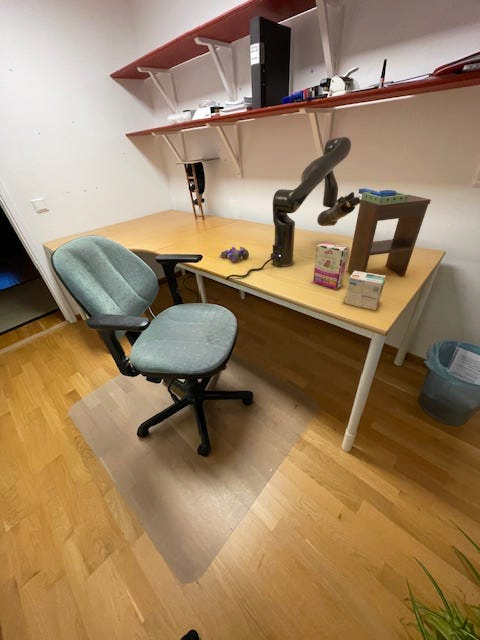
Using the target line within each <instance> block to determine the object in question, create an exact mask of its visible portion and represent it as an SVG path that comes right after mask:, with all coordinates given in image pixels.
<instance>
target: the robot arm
mask: <svg viewBox="0 0 480 640" xmlns="http://www.w3.org/2000/svg"><path fill="white" fill-rule="evenodd" d="M351 149H352V140H351V139H350V138H349V137H347V136H340V137H333V138H329V139H328V140H327V141H326V142H325V145H324V149H323V155H321V156H320V157H317V158H316V159H314V160H313V161H311V162H310V163H309V164H308V165H307V166H306V167H305V168H304V170H303V171H302V172H301V175H300V184H299V185H298V186H297V187H295V188H294V189H283V188H281V189H280V188H279V189H277V190H276V191H275V192H274V195H273V198H272V222H273V225H274V244H272V252H271V253H270V258H269V259H268V260H266V261H265V262H264V263H263V264H262V265H261V266H260V267H259V268H257V267H256V268H250V269H249V270H248V271H247V273H246V274H229V275H228V276H226V277H225V280H226V281H227V280H228V279H230V278H232V277H236V278H246V277H247V276H249V275H250V273H251V272H252V271H261V270H263V269H264V268H265V266H266V265H267V264H268V263H270V262H271V261H272V264H273V265H275V266H277V267H278V268H282V267H289V266H292V265H293V264H294V248H295V234H296V233H295V232H296V231H295V229H296V222H295V220H293V218H291V216H289V215H288V214H294V213H296V212H297V211H298V210H299V208H300V207H301V206H302V205H303V203H304V202H305V201H306V199H307V198H308V197H309V195H311V194H312V193H313V191H314V190H315V189H316V188H317V186H319V185H320V183H322V181H323V180H324V182H323V183H324V184H323V186H324V187H323V197H322V206H323V207H324V208H328V209H325V210H323V211H321V212H320V213H319V214H318V216H317V219H316V222H317V225H319V226H321V227H332V226H335V225H336V224H337V223H338V221H339V220H341V219H342V218H345V217H346V216H347V215H349V214H351V213H353V211H355V209H356V207H357V206H360V204H359V202H360V199H361V198H362V194H358V195H355V192H354V191H352V192H350V193H348V194H347V195H345V196H340V197H339V198H338V196H339V185H338V182H337V179H336V177H335V173H334V169H335V168H336V167H337V166H338V165H340V163H342V162H343V161H344V160H345V159H347V158H348V156H349V154H350V152H351Z"/></svg>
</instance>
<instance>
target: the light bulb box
mask: <svg viewBox="0 0 480 640" xmlns="http://www.w3.org/2000/svg"><path fill="white" fill-rule="evenodd" d="M386 277H387V276H386V275H383V274H377V273H371V272H366V273H365V272H359V271H354V272H353V273H352V275H351V274H350V276H349V278H348V283H347V289H346V293H345V299H344V304H347V305H351V306H356V307H359V308H363V309H368V310H371V311H376V309H377V307H378V305H379V304H380V300H381V297H382V293H383V289H384V286H385V281H386Z"/></svg>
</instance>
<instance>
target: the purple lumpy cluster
mask: <svg viewBox="0 0 480 640" xmlns="http://www.w3.org/2000/svg"><path fill="white" fill-rule="evenodd" d="M219 257H220V258H222V259H224V260H225V259H227V260H230V262H231V263H232V264H236V263H239V261H242V260H245V259H248V258H249V257H250V253H249V250H248V249H246V247H243V246H239V249H237V248H236V247H234V246H231V248H230V249H225V250H224V251H222V252H221V253H220V255H219Z"/></svg>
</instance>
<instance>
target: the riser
mask: <svg viewBox="0 0 480 640" xmlns="http://www.w3.org/2000/svg"><path fill="white" fill-rule="evenodd" d="M407 195H408V198H407V202H404V203H395V204H386V205H378V204H375V203H371V202H368V201H365V200H362V199H361V198H359V199H360V202H359V205H358V206H359V207H358V213H357V217H356V222H355V223H356V224H355V227H354V233H353V238H352V243H351V250H350V255H349V260H348V265H347V266H348V267H347V269H346V272H347V273H348V274H349V275H350V276H351V275H352V273H353V272H354V271H359V272H365V273H367V269H368V265H369V260H370V256H378V255H385V254H388V256H387V259H386V262H385V266H384V267H385V268H387V269H388V270H390V271H392V273H395V274H397V276H399V277H405V276H406V274H407V273H406V272H407V270H408V267H409V264H410V261H411V257H412V255H413V252H414V249H415V246H416V243H417V239H418V237H419V234H420V231H421V227H422V225H423V222H424V218H425V216H426V213H427V210H428V206H429V205H430V204H431V201H432V199H431V198H425V197H422V196H417V195H414V194H413V195H412V194H407ZM389 220H397V223H396V227H395V231H394V234H393V236H392V239H384V240H375V241H374V239H375V235H376V232H377V231H376V230H377V226H378V222H381V221H389Z"/></svg>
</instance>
